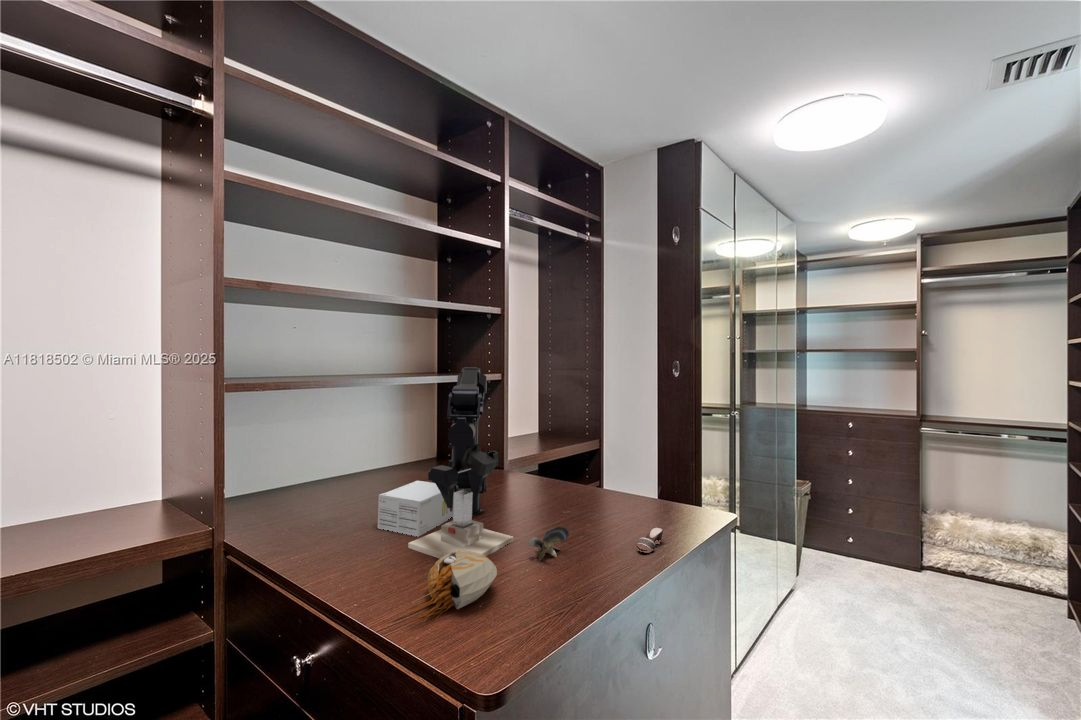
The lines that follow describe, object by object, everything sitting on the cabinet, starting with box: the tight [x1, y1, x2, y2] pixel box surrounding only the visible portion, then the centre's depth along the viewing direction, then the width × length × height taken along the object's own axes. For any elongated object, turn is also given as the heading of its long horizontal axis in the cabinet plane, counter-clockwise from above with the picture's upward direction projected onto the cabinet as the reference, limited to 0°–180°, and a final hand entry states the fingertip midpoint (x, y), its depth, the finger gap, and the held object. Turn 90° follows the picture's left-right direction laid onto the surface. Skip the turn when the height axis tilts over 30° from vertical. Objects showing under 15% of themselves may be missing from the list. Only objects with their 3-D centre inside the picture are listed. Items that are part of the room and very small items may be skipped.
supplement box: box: [377, 480, 454, 538], centre depth 135 cm, size 17×13×9 cm
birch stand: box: [407, 519, 514, 560], centre depth 120 cm, size 18×18×5 cm
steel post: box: [452, 490, 473, 529], centre depth 120 cm, size 4×4×12 cm
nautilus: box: [406, 551, 498, 623], centre depth 94 cm, size 8×22×15 cm
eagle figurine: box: [528, 526, 570, 562], centre depth 115 cm, size 8×7×9 cm
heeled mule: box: [636, 526, 664, 551], centre depth 122 cm, size 4×11×4 cm, turn 141°
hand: (462, 503), depth 120 cm, fingers open, 9 cm apart
